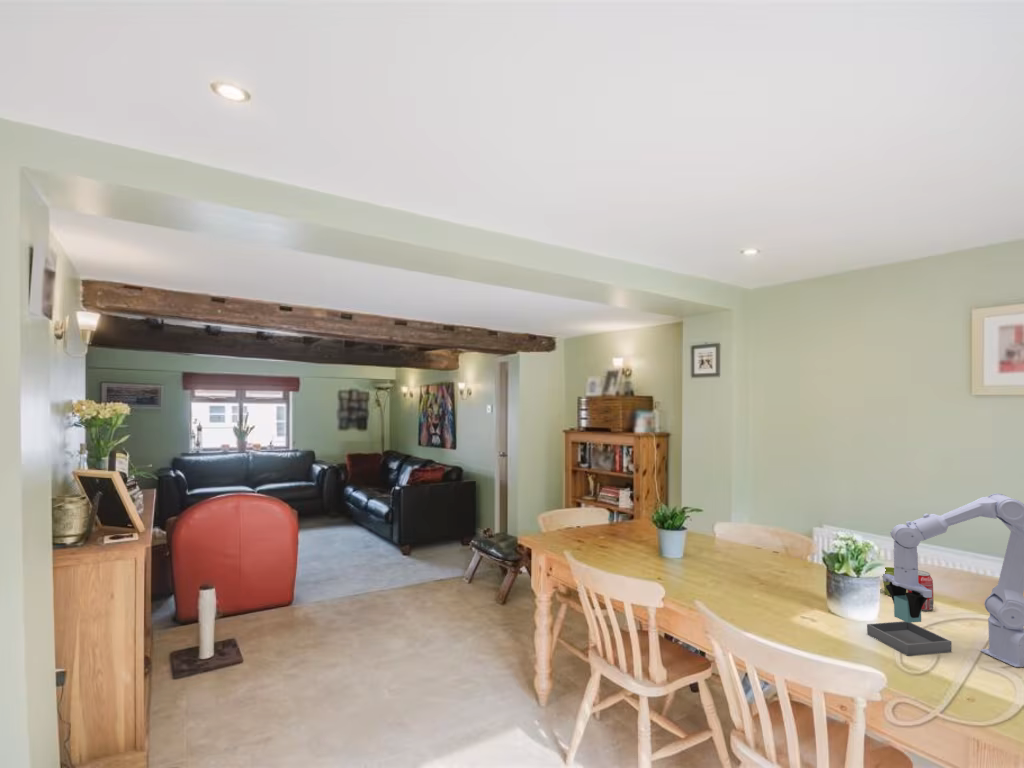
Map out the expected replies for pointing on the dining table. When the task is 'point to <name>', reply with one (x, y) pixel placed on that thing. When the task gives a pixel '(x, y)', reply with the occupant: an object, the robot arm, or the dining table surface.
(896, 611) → the teal block
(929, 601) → the soda can
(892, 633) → the tray
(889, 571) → the plant pot
